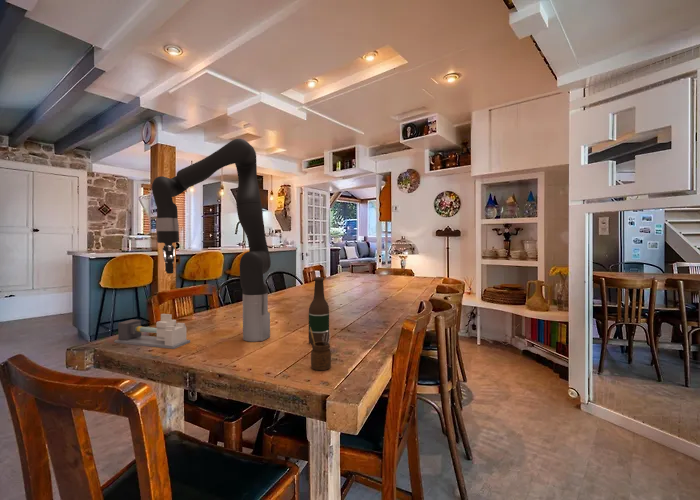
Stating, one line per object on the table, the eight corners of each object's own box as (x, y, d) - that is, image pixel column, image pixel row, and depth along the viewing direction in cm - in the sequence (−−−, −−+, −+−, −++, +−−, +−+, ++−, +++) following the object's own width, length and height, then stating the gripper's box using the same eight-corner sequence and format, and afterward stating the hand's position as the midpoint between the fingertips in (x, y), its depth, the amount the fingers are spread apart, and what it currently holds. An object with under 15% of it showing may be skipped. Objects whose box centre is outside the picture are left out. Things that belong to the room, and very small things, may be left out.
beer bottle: (333, 340, 129) (333, 276, 128) (323, 346, 122) (323, 279, 121) (315, 338, 132) (315, 275, 132) (304, 343, 125) (304, 277, 124)
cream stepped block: (176, 337, 126) (175, 313, 126) (165, 340, 121) (165, 316, 121) (167, 336, 127) (166, 312, 127) (156, 340, 122) (156, 315, 122)
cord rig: (190, 342, 126) (190, 322, 126) (173, 348, 119) (173, 328, 118) (133, 336, 133) (133, 318, 133) (114, 342, 126) (114, 322, 125)
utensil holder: (331, 370, 100) (331, 329, 100) (309, 371, 99) (309, 329, 99) (330, 363, 106) (331, 324, 105) (310, 363, 105) (310, 324, 105)
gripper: (180, 229, 128) (182, 273, 128) (177, 231, 140) (178, 270, 140) (157, 229, 124) (158, 274, 124) (156, 231, 136) (157, 272, 136)
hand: (169, 272), depth 132 cm, fingers open, 8 cm apart
